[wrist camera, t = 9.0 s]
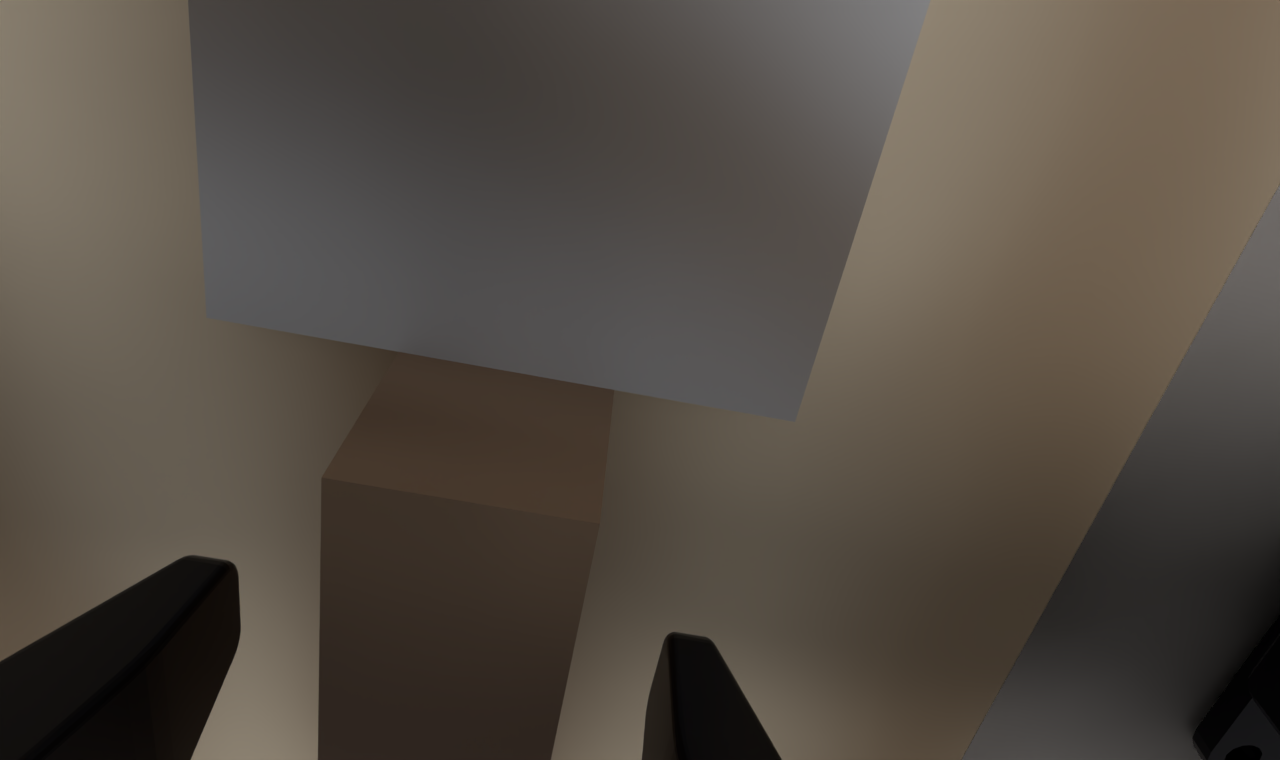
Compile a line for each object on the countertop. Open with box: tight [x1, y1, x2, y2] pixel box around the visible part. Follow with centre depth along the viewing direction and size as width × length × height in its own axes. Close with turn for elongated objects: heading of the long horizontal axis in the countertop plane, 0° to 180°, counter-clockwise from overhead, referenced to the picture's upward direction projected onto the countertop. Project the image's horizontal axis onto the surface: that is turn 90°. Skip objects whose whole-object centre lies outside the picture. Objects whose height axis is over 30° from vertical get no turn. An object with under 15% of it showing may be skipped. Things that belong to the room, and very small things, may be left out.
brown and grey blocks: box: [188, 0, 930, 760], centre depth 8 cm, size 12×6×3 cm, turn 169°
